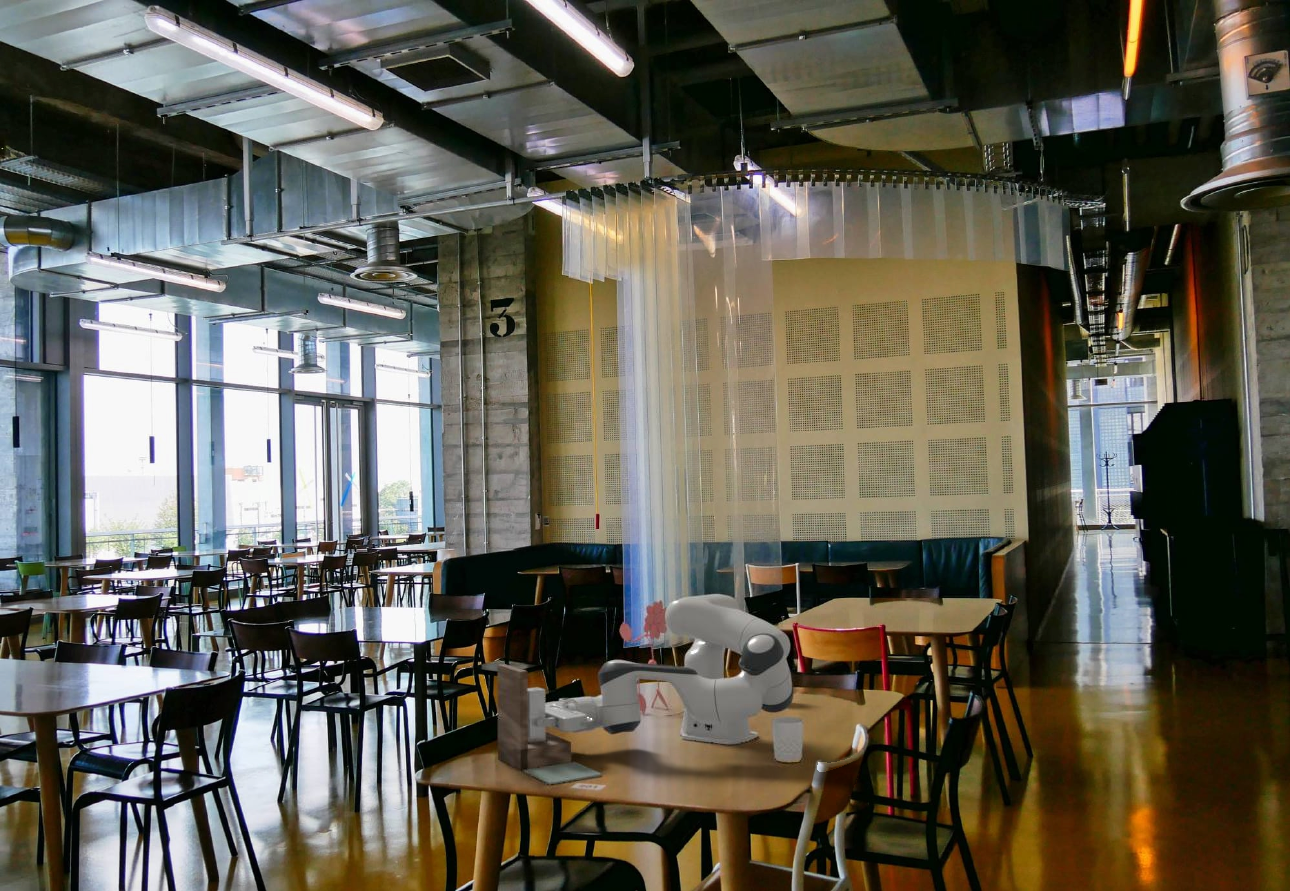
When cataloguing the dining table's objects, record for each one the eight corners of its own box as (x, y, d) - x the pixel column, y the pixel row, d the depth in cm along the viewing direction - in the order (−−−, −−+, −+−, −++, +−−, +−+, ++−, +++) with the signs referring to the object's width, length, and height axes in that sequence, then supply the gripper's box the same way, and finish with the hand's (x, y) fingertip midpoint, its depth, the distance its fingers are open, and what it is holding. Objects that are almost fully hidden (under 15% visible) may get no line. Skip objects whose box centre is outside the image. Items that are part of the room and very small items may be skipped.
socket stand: (546, 751, 261) (546, 659, 263) (571, 762, 250) (570, 666, 251) (497, 758, 254) (497, 664, 256) (520, 770, 242) (519, 671, 244)
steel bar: (538, 757, 255) (537, 687, 256) (545, 760, 251) (545, 689, 252) (522, 759, 253) (522, 688, 254) (530, 763, 249) (529, 691, 250)
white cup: (769, 756, 252) (768, 717, 253) (799, 755, 253) (798, 716, 253) (776, 764, 244) (775, 723, 245) (807, 763, 245) (806, 722, 246)
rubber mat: (574, 763, 248) (574, 761, 248) (602, 775, 236) (601, 773, 236) (524, 772, 241) (524, 770, 241) (549, 785, 229) (549, 782, 229)
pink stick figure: (612, 715, 307) (613, 602, 308) (665, 702, 326) (666, 596, 328) (650, 722, 296) (650, 605, 298) (702, 709, 316) (702, 599, 318)
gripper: (597, 734, 250) (548, 741, 243) (561, 720, 268) (514, 726, 260) (597, 708, 251) (548, 715, 243) (561, 696, 268) (514, 702, 261)
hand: (530, 721), depth 252 cm, fingers closed on steel bar, 4 cm apart
